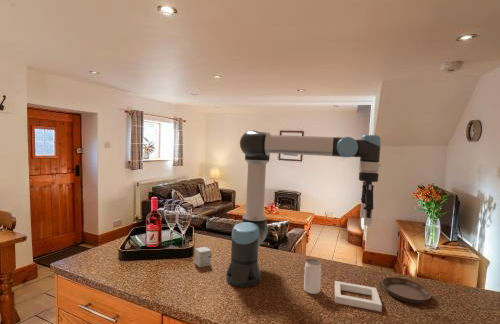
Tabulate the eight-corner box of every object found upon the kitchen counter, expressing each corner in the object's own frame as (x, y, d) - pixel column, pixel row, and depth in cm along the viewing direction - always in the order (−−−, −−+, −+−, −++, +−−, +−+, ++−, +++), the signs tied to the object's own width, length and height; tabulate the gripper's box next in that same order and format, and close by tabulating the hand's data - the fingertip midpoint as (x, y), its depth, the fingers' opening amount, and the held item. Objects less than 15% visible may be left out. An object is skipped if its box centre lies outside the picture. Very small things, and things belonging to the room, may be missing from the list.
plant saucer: (435, 295, 112) (435, 288, 112) (424, 312, 99) (425, 304, 99) (389, 279, 124) (389, 273, 124) (375, 293, 112) (375, 285, 112)
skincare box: (199, 267, 127) (199, 252, 126) (194, 262, 132) (194, 248, 132) (211, 265, 130) (211, 250, 130) (205, 260, 135) (206, 246, 135)
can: (320, 295, 107) (322, 265, 106) (303, 293, 108) (305, 263, 108) (319, 287, 113) (321, 259, 113) (303, 285, 114) (305, 257, 114)
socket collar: (335, 302, 102) (335, 296, 102) (334, 286, 115) (334, 280, 115) (381, 311, 98) (381, 304, 98) (375, 293, 110) (376, 287, 110)
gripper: (383, 174, 102) (380, 230, 103) (374, 170, 125) (371, 216, 126) (362, 173, 104) (358, 228, 105) (356, 169, 128) (353, 214, 129)
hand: (365, 221), depth 116 cm, fingers open, 13 cm apart
